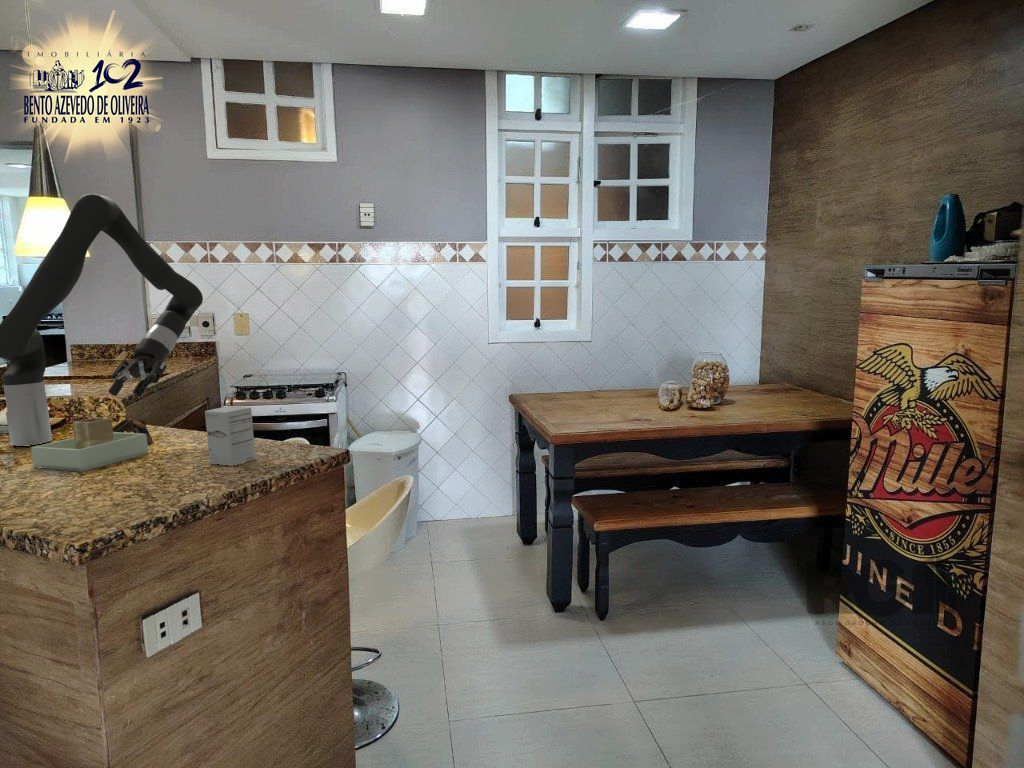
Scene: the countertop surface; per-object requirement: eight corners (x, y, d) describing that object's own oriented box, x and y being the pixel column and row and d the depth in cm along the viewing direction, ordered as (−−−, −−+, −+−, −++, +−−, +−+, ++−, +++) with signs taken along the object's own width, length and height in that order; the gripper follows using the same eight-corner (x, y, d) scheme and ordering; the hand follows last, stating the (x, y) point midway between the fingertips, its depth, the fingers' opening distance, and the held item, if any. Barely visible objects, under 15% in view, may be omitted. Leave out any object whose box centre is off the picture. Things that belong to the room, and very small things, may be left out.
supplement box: (208, 464, 157) (203, 410, 156) (235, 457, 164) (230, 405, 162) (231, 467, 154) (225, 412, 152) (257, 459, 160) (252, 406, 159)
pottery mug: (149, 448, 182) (128, 424, 178) (119, 464, 182) (97, 441, 179) (163, 428, 193) (143, 405, 189) (134, 444, 193) (114, 421, 190)
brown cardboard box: (77, 458, 166) (72, 422, 165) (99, 452, 172) (95, 417, 171) (93, 459, 164) (88, 422, 163) (115, 453, 170) (111, 418, 169)
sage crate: (33, 468, 162) (30, 447, 161) (103, 450, 178) (100, 431, 178) (81, 471, 156) (78, 450, 155) (148, 453, 173) (146, 433, 172)
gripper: (127, 337, 184) (93, 385, 175) (167, 336, 179) (133, 386, 169) (146, 354, 189) (114, 402, 180) (185, 354, 184) (154, 403, 175)
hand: (123, 394), depth 175 cm, fingers open, 8 cm apart
